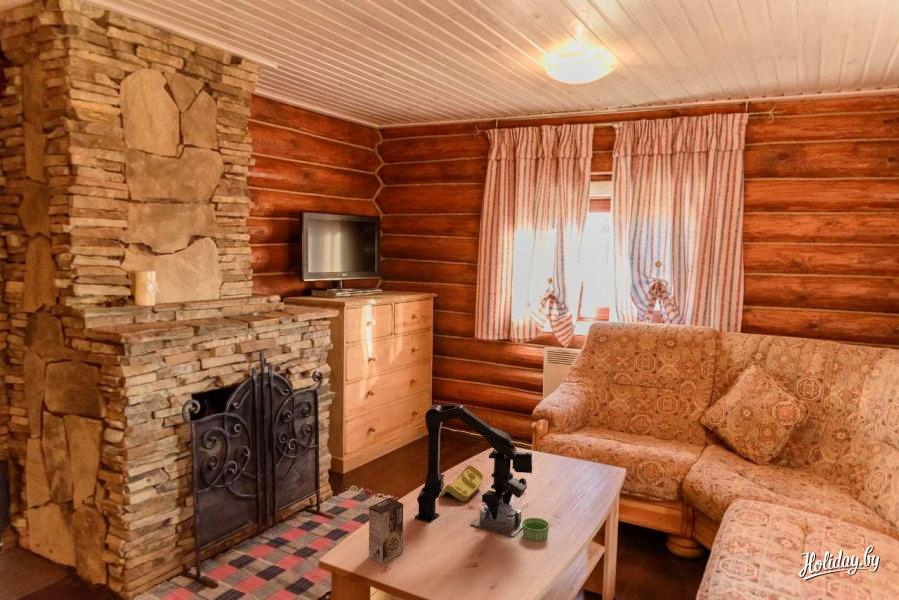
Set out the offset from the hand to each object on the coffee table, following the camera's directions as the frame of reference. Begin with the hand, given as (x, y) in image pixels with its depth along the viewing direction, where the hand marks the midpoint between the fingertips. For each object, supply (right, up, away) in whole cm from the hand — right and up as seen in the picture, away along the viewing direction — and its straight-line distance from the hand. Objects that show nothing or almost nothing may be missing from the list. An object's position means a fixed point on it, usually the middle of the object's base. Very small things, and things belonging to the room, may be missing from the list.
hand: (500, 514), depth 212 cm
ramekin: (+11, -5, -8) cm, 14 cm away
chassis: (0, -3, 0) cm, 3 cm away
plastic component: (-12, -1, +27) cm, 29 cm away
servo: (0, -3, 0) cm, 3 cm away
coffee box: (-37, -5, -23) cm, 44 cm away
